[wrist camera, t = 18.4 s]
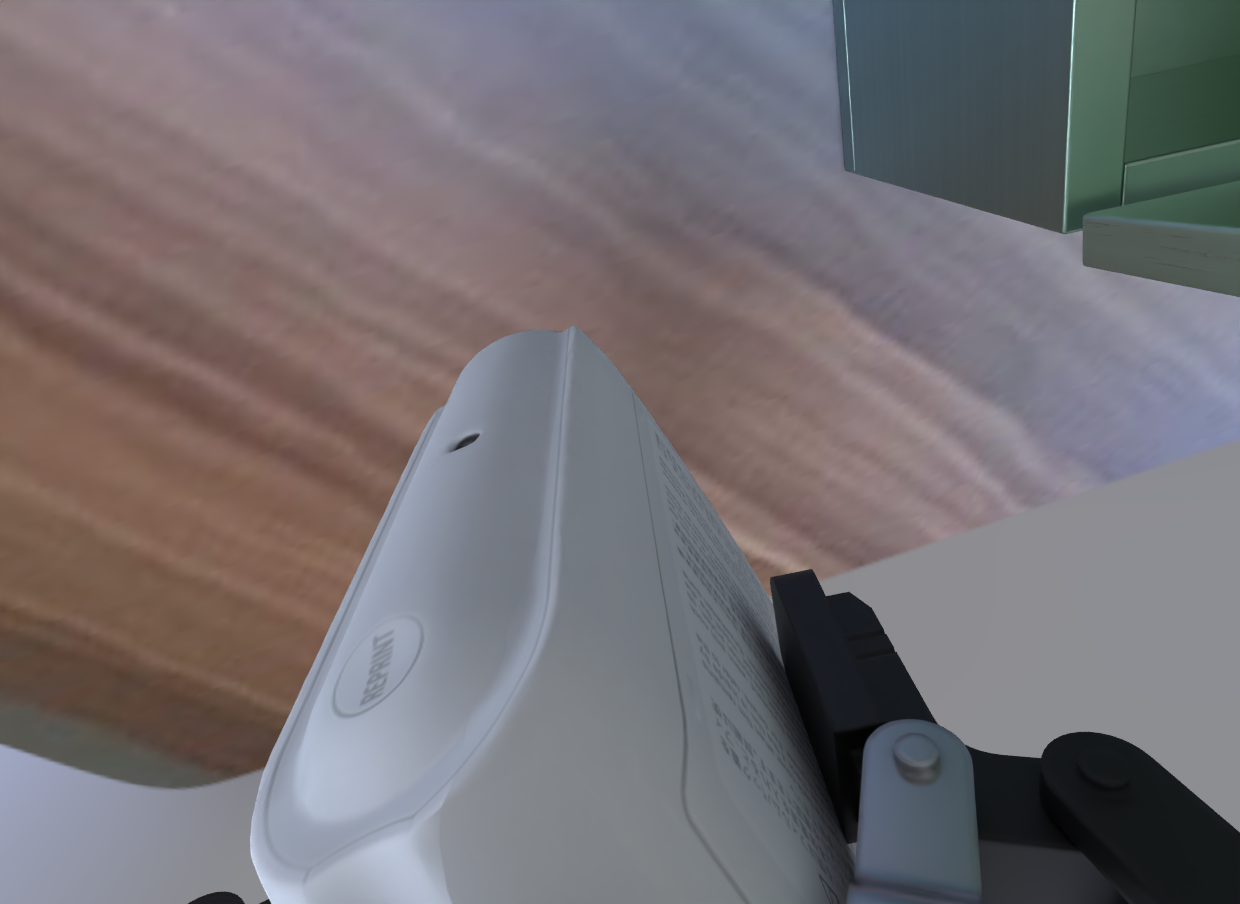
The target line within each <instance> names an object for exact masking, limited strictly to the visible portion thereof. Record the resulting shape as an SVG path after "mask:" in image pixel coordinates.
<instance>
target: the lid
mask: <svg viewBox="0 0 1240 904" xmlns="http://www.w3.org/2000/svg"><path fill="white" fill-rule="evenodd" d="M1083 265H1084V266H1087V267H1092V268H1097V269H1102V270H1107V271H1112V272H1117V273H1122V274H1127V275H1132V276H1137V277H1142V278H1147V279H1152V280H1157V281H1162V282H1167V283H1172V284H1177V285H1182V286H1187V287H1192V288H1197V289H1202V290H1207V291H1212V292H1217V293H1222V294H1227V295H1232V296H1237V297H1240V181H1235V182H1230V183H1226V184H1221V185H1216V186H1212V187H1207V188H1202V189H1198V190H1193V191H1189V192H1184V193H1179V194H1175V195H1170V196H1165V197H1161V198H1156V199H1151V200H1147V201H1142V202H1137V203H1133V204H1128V205H1123V206H1119V207H1114V208H1109V209H1105V210H1100V211H1095V212H1091V213H1088V214H1086V215H1084V217H1083Z"/></svg>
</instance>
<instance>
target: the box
mask: <svg viewBox="0 0 1240 904" xmlns="http://www.w3.org/2000/svg"><path fill="white" fill-rule="evenodd" d="M833 9H834V23H835V37H836V51H837V65H838V79H839V93H840V107H841V121H842V135H843V149H844V163H845V170H846V171H849V172H852V173H856V174H858V175H862V176H865V177H869V178H872V179H876V180H879V181H882V182H886V183H889V184H893V185H896V186H900V187H903V188H907V189H910V190H913V191H917V192H920V193H924V194H927V195H931V196H934V197H938V198H941V199H944V200H948V201H951V202H955V203H958V204H962V205H965V206H969V207H972V208H975V209H979V210H982V211H986V212H989V213H993V214H996V215H1000V216H1003V217H1006V218H1010V219H1013V220H1017V221H1020V222H1024V223H1027V224H1031V225H1034V226H1037V227H1041V228H1044V229H1048V230H1051V231H1055V232H1058V233H1062V234H1068V233H1073V232H1078V231H1082V230H1083V217H1084V215H1086V214H1088V213H1091V212H1095V211H1100V210H1105V209H1109V208H1114V207H1119V206H1123V205H1128V204H1133V203H1137V202H1142V201H1147V200H1151V199H1156V198H1161V197H1165V196H1170V195H1175V194H1179V193H1184V192H1189V191H1193V190H1198V189H1202V188H1207V187H1212V186H1216V185H1221V184H1226V183H1230V182H1235V181H1240V0H833Z"/></svg>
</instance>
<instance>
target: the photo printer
mask: <svg viewBox="0 0 1240 904" xmlns="http://www.w3.org/2000/svg"><path fill="white" fill-rule="evenodd" d="M250 847H251V857H252V861H253V864H254V866H255V869H256V871H257V874H258V876H259V879H260V881H261V884H262V886H263V887H264V890H265V892H266V894H267V896H268V898H269V900H270V902H271V904H846V901H847V892H848V885H849V881H850V879H853V878H854V872H855V860H856V847H857V842H856V843H851V844H847V842H846V840H845V838H844V835H843V832H842V829H841V826H840V823H839V821H838V818H837V815H836V812H835V809H834V807H833V804H832V801H831V798H830V795H829V793H828V790H827V787H826V784H825V781H824V779H823V776H822V773H821V770H820V767H819V765H818V762H817V759H816V756H815V754H814V751H813V748H812V745H811V742H810V740H809V737H808V734H807V731H806V729H805V726H804V723H803V720H802V717H801V715H800V712H799V709H798V706H797V704H796V701H795V698H794V695H793V692H792V690H791V687H790V684H789V681H788V678H787V675H786V673H785V669H784V665H783V661H782V657H781V652H780V647H779V641H778V634H777V627H776V620H775V613H774V606H773V604H772V602H771V600H770V598H769V596H768V595H767V593H766V591H765V590H764V588H763V586H762V584H761V583H760V581H759V579H758V578H757V576H756V574H755V573H754V571H753V569H752V568H751V566H750V565H749V563H748V561H747V560H746V558H745V556H744V554H743V552H742V551H741V550H740V548H739V547H738V545H737V544H736V542H735V540H734V539H733V537H732V536H731V534H730V533H729V531H728V529H727V528H726V526H725V525H724V523H723V522H722V520H721V518H720V517H719V515H718V514H717V512H716V511H715V509H714V508H713V506H712V505H711V503H710V502H709V500H708V499H707V497H706V496H705V494H704V493H703V491H702V490H701V488H700V487H699V485H698V484H697V482H696V481H695V479H694V478H693V476H692V475H691V473H690V472H689V470H688V469H687V467H686V466H685V464H684V463H683V461H682V460H681V459H680V457H679V456H678V454H677V453H676V451H675V449H674V448H673V446H672V444H671V443H670V442H669V440H668V439H667V438H666V436H665V435H664V433H663V432H662V431H661V429H660V428H659V426H658V425H657V423H656V422H655V420H654V419H653V417H652V416H651V415H650V413H649V412H648V410H647V409H646V408H645V406H644V405H643V403H642V402H641V401H640V399H639V398H638V397H637V395H636V394H635V392H634V391H633V390H632V388H631V387H630V386H629V384H628V383H627V381H626V380H625V379H624V377H623V376H622V375H621V373H620V372H619V371H618V369H617V368H616V367H615V366H614V364H613V363H612V362H611V361H610V360H609V359H608V357H607V356H606V355H605V354H604V353H603V352H602V351H601V350H600V349H599V348H598V347H597V346H596V345H595V343H594V342H593V341H592V340H590V339H589V338H588V337H587V336H586V335H585V334H584V333H583V332H582V331H581V330H580V329H579V328H577V327H576V326H571V327H569V328H568V329H566V330H565V331H563V332H561V333H559V332H557V331H552V330H528V331H522V332H518V333H515V334H511V335H508V336H506V337H503V338H501V339H499V340H497V341H495V342H493V343H491V344H490V345H488V346H487V347H485V348H484V349H482V350H481V351H480V352H478V353H477V354H476V355H475V356H474V357H473V359H472V360H471V361H470V362H469V363H468V364H467V365H466V366H465V368H464V369H463V371H462V372H461V374H460V376H459V378H458V380H457V382H456V384H455V386H454V388H453V390H452V393H451V395H450V397H449V399H448V401H447V404H446V405H445V406H443V407H441V408H439V409H437V410H436V411H435V413H434V414H433V416H432V417H431V419H430V420H429V422H428V424H427V425H426V427H425V429H424V431H423V433H422V435H421V437H420V439H419V442H418V443H417V445H416V446H415V448H414V451H413V453H412V455H411V457H410V459H409V462H408V464H407V466H406V468H405V470H404V472H403V474H402V476H401V478H400V480H399V482H398V485H397V487H396V489H395V491H394V493H393V495H392V497H391V499H390V502H389V504H388V506H387V508H386V511H385V513H384V515H383V517H382V519H381V521H380V523H379V525H378V527H377V529H376V531H375V533H374V536H373V538H372V540H371V542H370V544H369V546H368V548H367V550H366V552H365V554H364V557H363V559H362V561H361V563H360V565H359V567H358V570H357V572H356V574H355V576H354V578H353V580H352V582H351V584H350V586H349V588H348V590H347V593H346V595H345V597H344V599H343V601H342V603H341V606H340V608H339V610H338V612H337V614H336V616H335V618H334V620H333V622H332V624H331V626H330V628H329V630H328V633H327V635H326V637H325V639H324V642H323V644H322V646H321V648H320V650H319V653H318V655H317V657H316V659H315V661H314V664H313V666H312V668H311V670H310V672H309V674H308V676H307V678H306V680H305V682H304V684H303V686H302V688H301V691H300V693H299V695H298V698H297V700H296V702H295V704H294V706H293V708H292V711H291V713H290V715H289V717H288V719H287V721H286V723H285V725H284V728H283V730H282V732H281V734H280V736H279V738H278V740H277V742H276V744H275V746H274V748H273V750H272V752H271V755H270V757H269V760H268V762H267V765H266V767H265V770H264V772H263V775H262V778H261V782H260V787H259V791H258V796H257V800H256V804H255V808H254V813H253V817H252V826H251V838H250Z"/></svg>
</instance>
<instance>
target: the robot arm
mask: <svg viewBox="0 0 1240 904" xmlns="http://www.w3.org/2000/svg"><path fill="white" fill-rule="evenodd" d="M770 585H771V592H772V599H773V606H774V613H775V620H776V627H777V634H778V641H779V647H780V652H781V657H782V661H783V665H784V669H785V673H786V675H787V678H788V681H789V684H790V687H791V690H792V692H793V695H794V698H795V701H796V704H797V706H798V709H799V712H800V715H801V717H802V720H803V723H804V726H805V729H806V731H807V734H808V737H809V740H810V742H811V745H812V748H813V751H814V754H815V756H816V759H817V762H818V765H819V767H820V770H821V773H822V776H823V779H824V781H825V784H826V787H827V790H828V793H829V795H830V798H831V801H832V804H833V807H834V809H835V812H836V815H837V818H838V821H839V823H840V826H841V829H842V832H843V835H844V838H845V840H846V842H847V844H851V843H856V842H857V847H856V860H855V872H854V878H853V879H850V881H849V885H848V892H847V901H846V904H1240V832H1238V831H1237V830H1236V829H1235V828H1234V827H1233V826H1231V825H1230V824H1229V823H1228V822H1227V821H1226V820H1224V819H1223V818H1222V817H1221V816H1220V815H1218V814H1217V813H1216V812H1215V811H1214V810H1213V809H1212V808H1210V807H1209V806H1208V805H1207V804H1206V803H1204V802H1203V801H1202V800H1201V799H1200V798H1199V797H1197V796H1196V795H1195V794H1194V793H1193V792H1192V791H1190V790H1189V789H1188V788H1187V787H1186V786H1185V785H1183V784H1182V783H1181V782H1180V781H1179V780H1177V779H1176V778H1175V777H1174V776H1173V775H1172V774H1171V773H1169V772H1168V771H1167V770H1166V769H1165V768H1163V767H1162V766H1161V765H1160V764H1159V763H1158V762H1156V761H1155V760H1154V759H1153V758H1152V757H1151V756H1149V755H1148V754H1147V753H1145V752H1144V751H1143V750H1141V749H1140V748H1138V747H1136V746H1134V745H1133V744H1131V743H1129V742H1127V741H1124V740H1122V739H1119V738H1116V737H1114V736H1110V735H1106V734H1101V733H1094V732H1076V733H1069V734H1066V735H1062V736H1060V737H1058V738H1056V739H1054V740H1053V741H1052V742H1050V743H1049V744H1048V745H1047V747H1046V748H1045V749H1044V752H1043V754H1042V758H1031V757H1019V756H1008V755H998V754H992V753H987V752H983V751H979V750H977V749H974V748H971V747H969V746H967V745H965V744H964V743H963V742H962V741H961V740H960V739H959V738H958V737H957V736H956V735H955V734H953V733H952V732H951V731H949V730H947V729H946V728H944V727H942V726H940V725H938V724H937V722H936V721H935V719H934V718H933V716H932V714H931V712H930V711H929V709H928V707H927V705H926V704H925V702H924V700H923V698H922V697H921V695H920V693H919V691H918V689H917V688H916V686H915V684H914V682H913V681H912V679H911V677H910V675H909V673H908V672H907V670H906V668H905V666H904V665H903V663H902V661H901V659H900V658H899V656H898V654H897V652H895V651H894V647H893V645H892V643H891V642H890V640H889V638H888V636H887V635H886V634H885V633H884V629H883V627H882V626H881V624H880V622H879V620H878V619H877V617H876V615H875V613H874V611H873V610H872V608H871V607H869V606H868V605H867V604H865V603H864V602H862V601H861V600H860V599H858V598H857V597H856V596H854V595H853V594H851V593H850V592H846V593H841V594H836V595H831V596H825V594H824V592H823V590H822V587H821V585H820V583H819V581H818V579H817V577H816V575H815V573H814V572H813V570H812V569H810V570H805V571H800V572H795V573H790V574H785V575H780V576H775V577H771V578H770ZM188 904H245V903H244V902H243V900H242V899H241V898H240V897H239V896H238V895H236V894H233V893H230V892H215V893H211V894H207V895H205V896H202V897H200V898H197V899H196V900H194V901H192V902H190V903H188ZM260 904H271V902H270V900H269V899H268V900H266V901H264V902H262V903H260Z"/></svg>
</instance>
